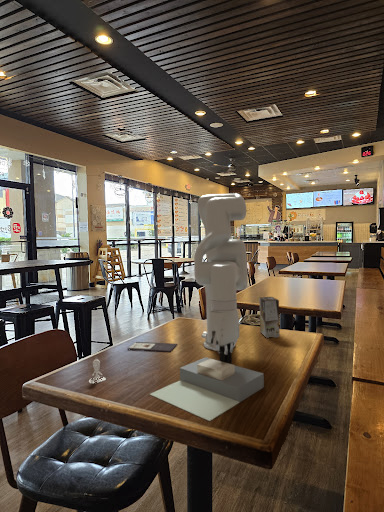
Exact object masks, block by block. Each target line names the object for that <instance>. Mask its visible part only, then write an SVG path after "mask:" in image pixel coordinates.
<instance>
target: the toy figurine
mask: <svg viewBox="0 0 384 512" xmlns="http://www.w3.org/2000/svg"><path fill="white" fill-rule="evenodd" d="M91 361H92V360H91ZM100 364H101V361H100V360H99V359H98V357H97V356H95V358H94V360H93V361H92V368H93V370H94V371H93V373H92V374H91V375H92V378H93V380H91V379H92V378H90V379H89V380H88V382H89V383H90V384H94V383H95V382H97V383H101V382H103V381H106V379H107V378H106V377H104V376H103V373H101V372H100V367H101V365H100ZM100 375H101V376H100ZM93 376H94V377H93ZM100 377H103V378H101V379H102V380H101V379H99V378H100ZM97 378H98V380H97ZM95 380H97V381H95ZM94 381H95V382H94ZM97 383H95V384H97ZM95 384H94V385H95Z"/></svg>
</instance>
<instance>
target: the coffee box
mask: <svg viewBox="0 0 384 512" xmlns="http://www.w3.org/2000/svg"><path fill="white" fill-rule="evenodd" d="M258 300H259V322H260V323H259V325H260V326H259V327H260V329H259V330H260V332H261V333H262V334H263V335H264V336H265V337H266V339H270V338H269V337H274V338H280V337H279V336H280V335H281V334H280V331H281V330H280V299H277V298H275V297H274V296H262V297H259V298H258ZM261 333H260V334H261ZM262 334H261V335H262ZM264 336H263V337H264Z"/></svg>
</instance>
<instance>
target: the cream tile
mask: <svg viewBox="0 0 384 512" xmlns="http://www.w3.org/2000/svg"><path fill="white" fill-rule="evenodd" d="M234 365H235V364H233V363H232V364H229V363H225V362H221V361H220V360H217V359H214V358H210V359H208V360H206V361H203V362H201V363H199V364H197V373H200V374H203V375H206V376H210V377H213V378H216V379H219V380H224V379H226V378H227V377H229V376H231V375H233V374H235V368H234Z"/></svg>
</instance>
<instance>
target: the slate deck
mask: <svg viewBox="0 0 384 512" xmlns="http://www.w3.org/2000/svg"><path fill="white" fill-rule="evenodd" d="M208 359H211V358H210V357H203V358H201V359H198V360H196V361H193V362H191V363H189V364H186V365H183V366H181V367H179V380H181V381H184V382H187V383H189V384H192V385H195V386H197V387H200V388H203V389H206V390H208V391H211V392H214V393H216V394H219V395H222V396H225V397H227V398H230V399H233V400H236V401H238V402H239V403H241V402H243V401H245V400H246V399H248V398H249V397H251V396H252V395H254V394H255V393H257V392H259V391H260V390H262V389H263V388H265V380H264V379H265V377H264V374H265V373H263V372H260V371H256V370H253V369H249V368H245V367H241V366H237V365H235V364H233V365H234V368H235V374H233V375H231V376H229V377H227V378H226V379H224V380H219V379H216V378H213V377H210V376H206V375H203V374H200V373H197V364H199V363H201V362H203V361H206V360H208ZM239 403H238V404H239Z"/></svg>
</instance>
